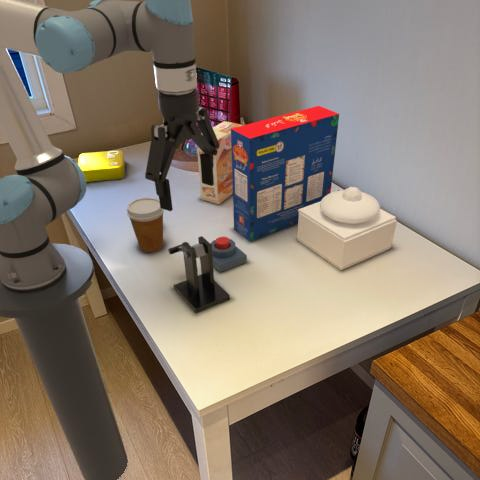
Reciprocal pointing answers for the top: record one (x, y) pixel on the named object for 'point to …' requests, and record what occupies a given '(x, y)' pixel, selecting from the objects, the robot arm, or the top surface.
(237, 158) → the blue cereal box
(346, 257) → the white domed box
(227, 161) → the coffeecake box
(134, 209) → the disposable coffee cup
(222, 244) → the button
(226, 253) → the button box
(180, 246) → the lever
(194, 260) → the bracket
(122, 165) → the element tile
